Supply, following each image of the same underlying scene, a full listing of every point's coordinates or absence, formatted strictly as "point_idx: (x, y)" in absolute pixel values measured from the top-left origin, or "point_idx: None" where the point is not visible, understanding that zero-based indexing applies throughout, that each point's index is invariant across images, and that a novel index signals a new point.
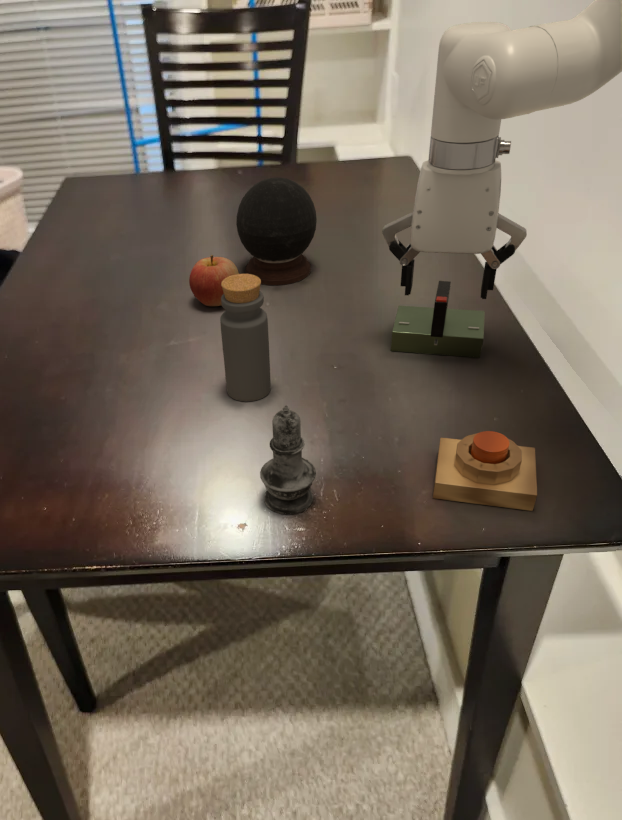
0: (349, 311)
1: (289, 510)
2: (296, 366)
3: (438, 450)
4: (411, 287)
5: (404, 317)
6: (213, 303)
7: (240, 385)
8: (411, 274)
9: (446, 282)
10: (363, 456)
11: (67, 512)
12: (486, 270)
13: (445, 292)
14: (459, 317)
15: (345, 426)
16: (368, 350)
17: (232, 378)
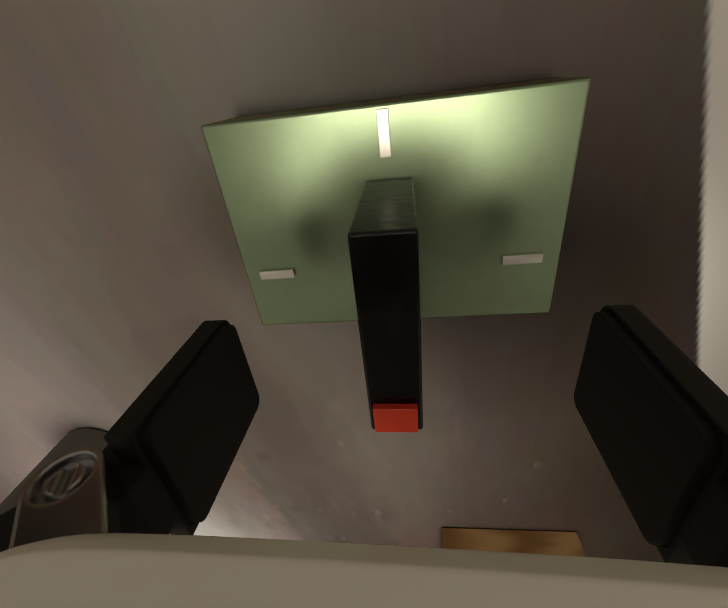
0: (26, 51)
1: None
2: (122, 384)
3: (442, 534)
4: (242, 375)
5: (263, 229)
6: None
7: None
8: (218, 490)
9: (393, 251)
10: (343, 537)
11: None
12: (663, 543)
13: (404, 357)
14: (468, 180)
15: (297, 500)
16: (227, 298)
17: None
